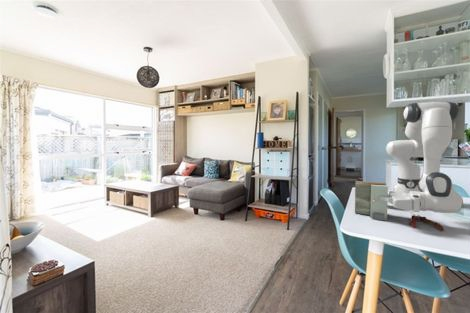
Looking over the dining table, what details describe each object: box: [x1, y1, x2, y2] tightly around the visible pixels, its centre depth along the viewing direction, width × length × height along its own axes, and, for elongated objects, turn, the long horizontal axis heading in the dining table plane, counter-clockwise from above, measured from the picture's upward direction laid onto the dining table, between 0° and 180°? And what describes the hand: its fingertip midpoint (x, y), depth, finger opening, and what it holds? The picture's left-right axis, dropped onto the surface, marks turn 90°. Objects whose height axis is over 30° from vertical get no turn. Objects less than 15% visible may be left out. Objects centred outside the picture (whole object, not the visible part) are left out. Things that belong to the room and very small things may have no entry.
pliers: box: [408, 212, 444, 232], centre depth 107 cm, size 12×20×3 cm, turn 155°
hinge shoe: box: [371, 213, 385, 221], centre depth 113 cm, size 5×5×3 cm
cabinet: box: [354, 180, 387, 216], centre depth 119 cm, size 8×14×17 cm, turn 60°
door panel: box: [369, 185, 389, 221], centre depth 112 cm, size 3×7×17 cm, turn 61°
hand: (379, 197), depth 112 cm, fingers open, 4 cm apart
